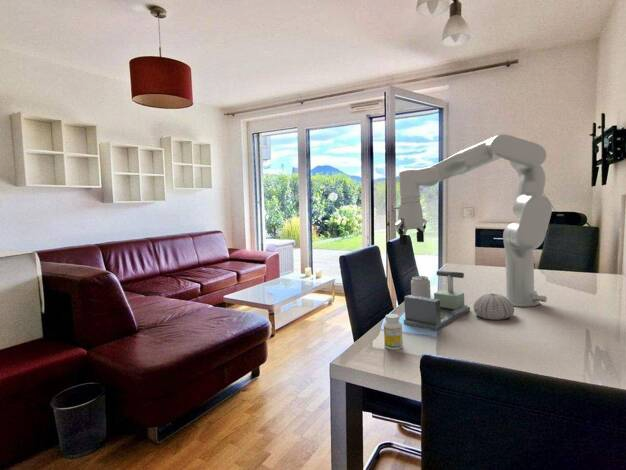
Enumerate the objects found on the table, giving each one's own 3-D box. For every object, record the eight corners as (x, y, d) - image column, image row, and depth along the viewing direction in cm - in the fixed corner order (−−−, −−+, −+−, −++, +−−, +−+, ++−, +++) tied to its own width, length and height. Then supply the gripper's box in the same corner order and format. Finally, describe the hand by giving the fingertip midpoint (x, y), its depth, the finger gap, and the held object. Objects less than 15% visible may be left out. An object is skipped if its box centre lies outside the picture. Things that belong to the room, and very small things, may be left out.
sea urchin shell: (474, 321, 128) (473, 298, 127) (472, 309, 140) (472, 289, 140) (517, 323, 123) (516, 299, 122) (512, 311, 135) (511, 289, 135)
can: (432, 308, 145) (430, 278, 144) (412, 309, 146) (411, 279, 145) (430, 303, 152) (428, 274, 151) (411, 303, 153) (409, 275, 152)
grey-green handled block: (465, 305, 139) (464, 272, 137) (458, 309, 134) (457, 275, 133) (441, 302, 146) (439, 269, 145) (433, 305, 142) (431, 272, 141)
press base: (470, 310, 139) (469, 286, 138) (435, 330, 121) (433, 302, 120) (440, 305, 148) (439, 282, 147) (403, 323, 130) (402, 297, 129)
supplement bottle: (397, 351, 107) (396, 319, 106) (381, 348, 110) (379, 316, 110) (406, 345, 111) (404, 314, 110) (390, 342, 115) (388, 312, 114)
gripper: (417, 199, 154) (419, 240, 155) (387, 202, 144) (389, 245, 146) (432, 199, 147) (434, 241, 149) (401, 201, 138) (404, 246, 140)
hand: (412, 243), depth 147 cm, fingers open, 9 cm apart
